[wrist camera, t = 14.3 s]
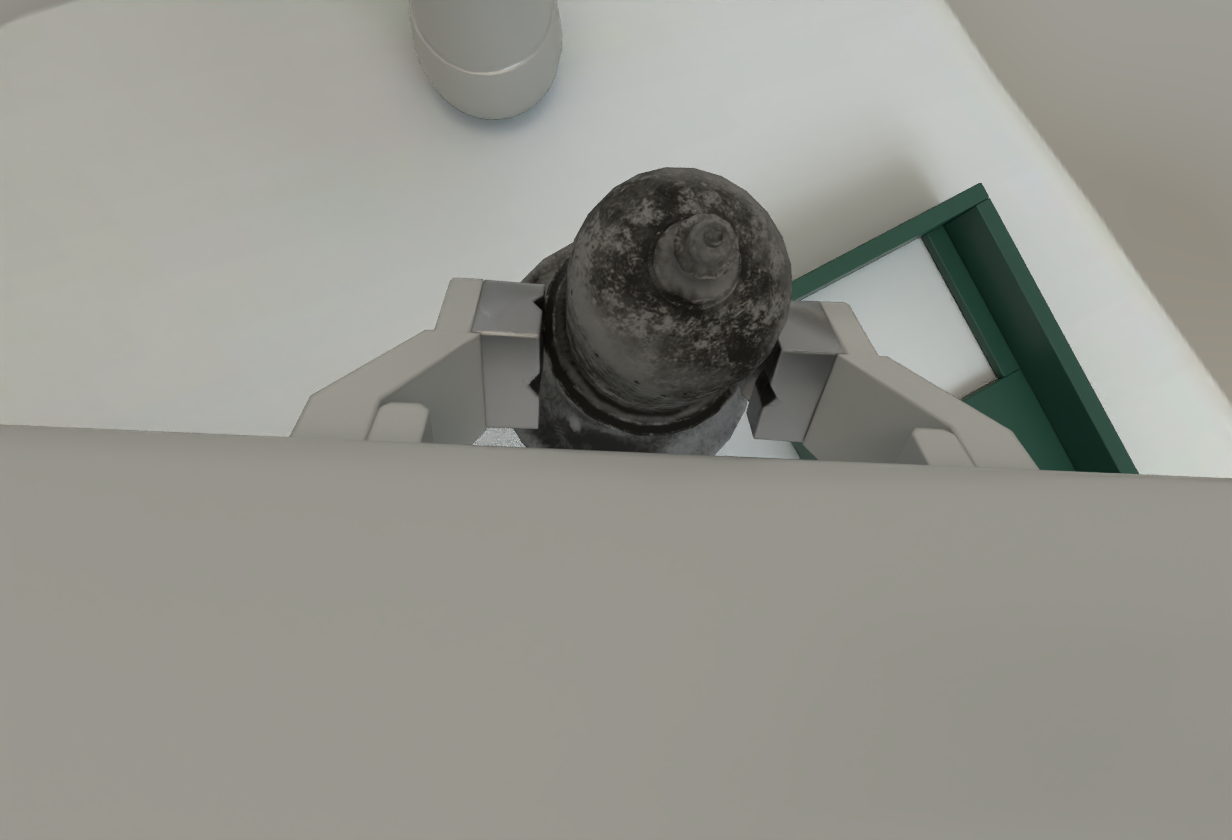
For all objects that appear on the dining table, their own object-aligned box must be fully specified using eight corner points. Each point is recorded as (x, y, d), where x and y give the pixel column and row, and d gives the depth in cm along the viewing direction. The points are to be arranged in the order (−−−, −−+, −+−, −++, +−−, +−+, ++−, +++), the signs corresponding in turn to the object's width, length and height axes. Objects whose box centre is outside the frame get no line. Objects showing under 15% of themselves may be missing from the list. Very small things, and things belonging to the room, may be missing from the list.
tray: (1130, 553, 32) (1188, 563, 29) (919, 681, 31) (958, 706, 28) (943, 206, 33) (981, 181, 30) (726, 320, 31) (743, 306, 28)
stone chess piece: (665, 244, 19) (858, -141, 7) (749, 433, 18) (1099, 391, 6) (472, 324, 18) (299, 59, 6) (557, 520, 18) (556, 649, 6)
